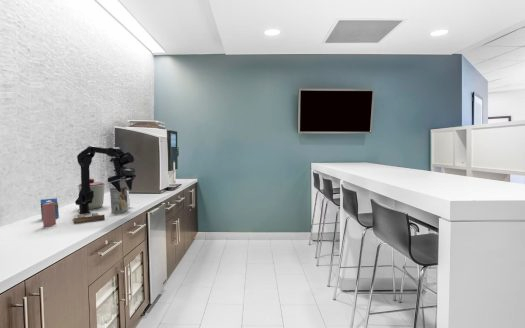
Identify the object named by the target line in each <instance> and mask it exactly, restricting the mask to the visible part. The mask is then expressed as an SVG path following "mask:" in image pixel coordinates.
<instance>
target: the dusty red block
mask: <svg viewBox="0 0 525 328" xmlns="http://www.w3.org/2000/svg"><path fill="white" fill-rule="evenodd" d="M48 202H49V203H45V204H42V210H43V220H42V223H43V225H42V227H44V228H49V227H53V226H54V225H56V224H57V220H56V219H57V218H56V216H55V202H51V201H48Z"/></svg>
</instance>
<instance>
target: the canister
mask: <svg viewBox="0 0 525 328" xmlns="http://www.w3.org/2000/svg"><path fill="white" fill-rule="evenodd" d="M105 186H106V183H104V182H100V181H95V179H94V178H90V189H91V190H92V191H94V197H93V200H92V203H89V210H93V209H99V208H102V207H103V205H104V201H105V199H104V198H105ZM77 188H78V191H79V192H80V190H81V183H80V184H78V185H77ZM79 192H78V193H79Z"/></svg>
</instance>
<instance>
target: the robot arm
mask: <svg viewBox="0 0 525 328" xmlns="http://www.w3.org/2000/svg"><path fill="white" fill-rule="evenodd" d="M96 154H103V155H106V156H108V157H111V158H110V160H109V163H112V164H113V168H114V169H113V172H115V175H112V176H109V177H108V178H107V182H108V183H110V184H111V185H112V186H113V188H116V189H117V190H118V191H119V192H121V188H120V187H121V184H120V182H121V180H124V182H125V184H126V185H127V188H128V191H132V190H133V189H132V188H133V181H134V180H135V179H136V178H137V176H136V174H135V173H136V169H135V167H130V168H129V169H127V167H126V165H129V164H132V163H134V161H135V158H134V156H133V154H132V153H131V152H130V151H129V152H124V151H123V150H122V149H121V147H102V146H96V145H89V146H87V147H86V148H85V149H83V150H82V151H81V152H79V153H78V154H77V156H76V159H77V163H78V165H79V167H80V184H81V190H80V192H78V197H77V199H76V200H75V202H74V203H75V205H76V206H78V207H79V208H78V209H79V212H78V215H81V214H84V215H86V214H87V215H88V214H91V211H90V209H89V203H92V200H93V197H94V191H92V190H91V189H90V179H91V178H90V176H91V175H90V166H91V164H92V162H93V158H94V157H95V155H96Z"/></svg>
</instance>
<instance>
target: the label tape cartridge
mask: <svg viewBox="0 0 525 328" xmlns="http://www.w3.org/2000/svg"><path fill="white" fill-rule="evenodd" d="M49 202H55V216H56V219H58V218H59V217H60V214H59V213H60V212H59V211H60V209H59V203H58V197H57V198H46V199H45V198H43V199H40V214H41V220H42V219H43V210H42V204H45V203H49Z"/></svg>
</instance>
